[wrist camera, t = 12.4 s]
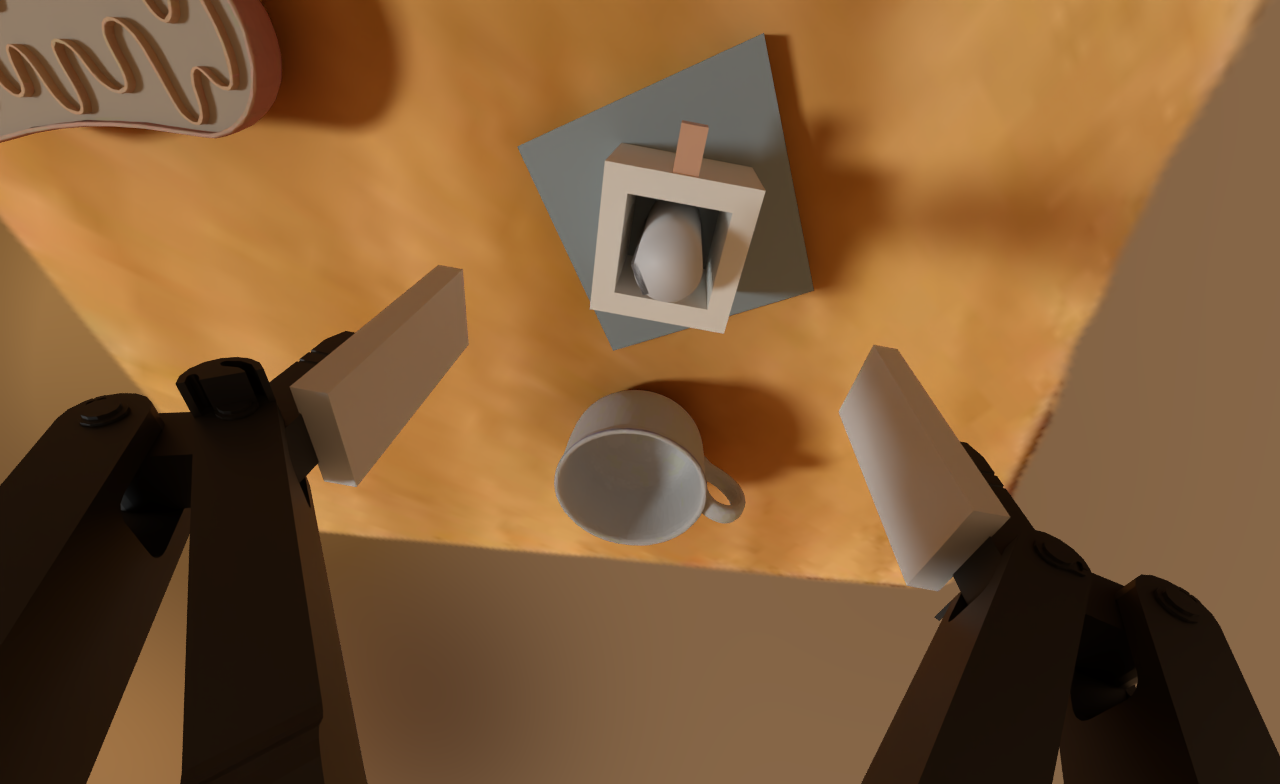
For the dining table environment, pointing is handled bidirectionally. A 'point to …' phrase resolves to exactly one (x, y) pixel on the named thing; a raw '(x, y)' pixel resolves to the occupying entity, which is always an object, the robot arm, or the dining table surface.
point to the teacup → (640, 471)
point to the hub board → (659, 128)
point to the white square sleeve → (686, 184)
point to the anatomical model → (136, 65)
